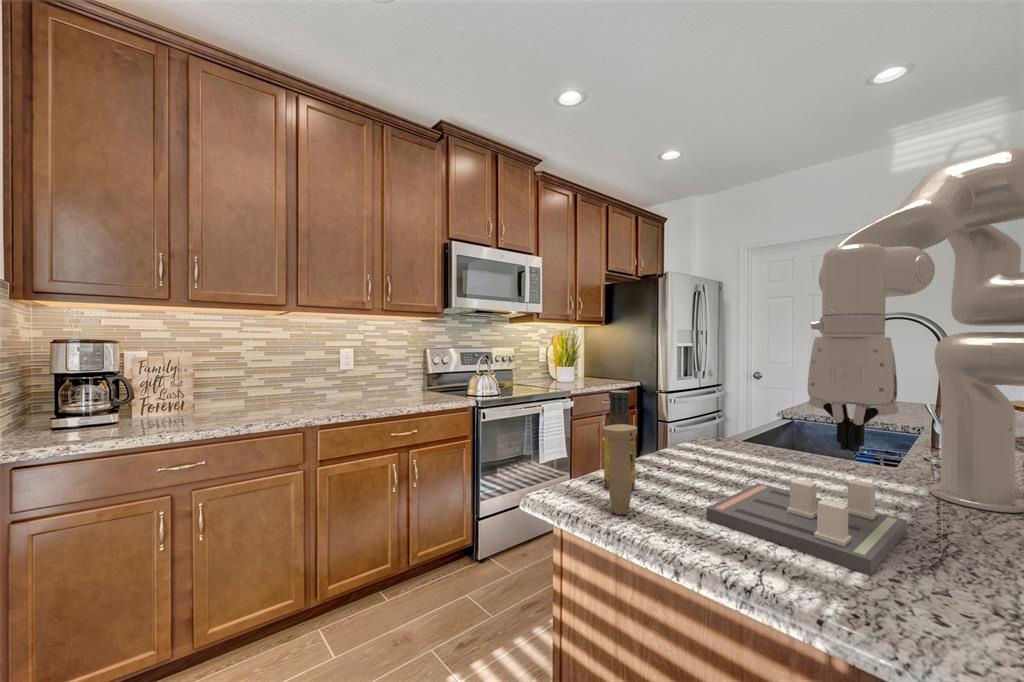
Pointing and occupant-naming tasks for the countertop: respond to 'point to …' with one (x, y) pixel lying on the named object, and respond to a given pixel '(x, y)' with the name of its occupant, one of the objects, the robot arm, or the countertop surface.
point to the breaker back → (861, 499)
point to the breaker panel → (807, 528)
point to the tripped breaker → (803, 498)
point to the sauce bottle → (616, 416)
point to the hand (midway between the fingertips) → (850, 449)
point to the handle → (620, 466)
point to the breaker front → (832, 522)
